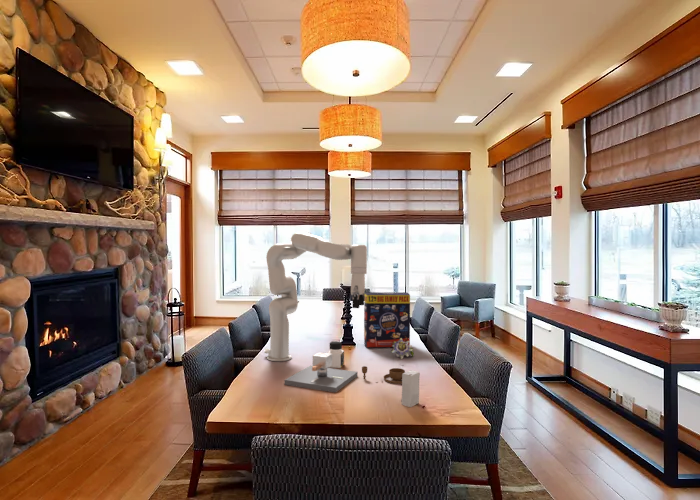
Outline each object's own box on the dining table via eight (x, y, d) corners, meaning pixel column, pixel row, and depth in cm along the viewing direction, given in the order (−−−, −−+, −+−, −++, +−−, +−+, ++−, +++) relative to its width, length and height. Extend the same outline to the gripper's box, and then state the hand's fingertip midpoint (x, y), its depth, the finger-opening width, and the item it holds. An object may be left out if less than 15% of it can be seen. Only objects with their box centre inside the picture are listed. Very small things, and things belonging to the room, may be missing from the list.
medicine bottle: (340, 368, 212) (341, 343, 212) (326, 367, 214) (326, 342, 214) (344, 364, 219) (344, 340, 219) (330, 363, 221) (330, 339, 221)
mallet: (307, 370, 187) (307, 358, 187) (319, 363, 198) (319, 352, 198) (320, 371, 185) (320, 360, 185) (331, 365, 195) (332, 353, 195)
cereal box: (406, 343, 267) (406, 291, 267) (411, 347, 255) (411, 292, 256) (363, 344, 264) (363, 291, 264) (366, 348, 252) (366, 293, 253)
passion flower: (401, 368, 232) (390, 351, 229) (396, 359, 242) (385, 343, 239) (419, 357, 232) (408, 339, 229) (413, 348, 243) (402, 331, 240)
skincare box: (409, 400, 170) (410, 369, 170) (419, 403, 167) (420, 371, 167) (400, 405, 165) (401, 373, 165) (411, 408, 163) (411, 375, 162)
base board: (284, 384, 187) (284, 379, 187) (310, 369, 210) (310, 365, 210) (335, 392, 178) (335, 387, 178) (357, 376, 200) (357, 371, 200)
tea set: (400, 389, 185) (400, 375, 185) (359, 380, 196) (359, 367, 196) (417, 378, 200) (417, 365, 200) (378, 371, 211) (378, 359, 210)
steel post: (315, 376, 193) (315, 367, 193) (319, 373, 197) (320, 364, 197) (324, 377, 191) (324, 368, 191) (328, 375, 195) (328, 366, 195)
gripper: (355, 269, 219) (355, 303, 219) (346, 271, 202) (346, 308, 202) (370, 269, 217) (369, 304, 217) (362, 272, 200) (362, 309, 200)
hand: (358, 306), depth 210 cm, fingers open, 9 cm apart
